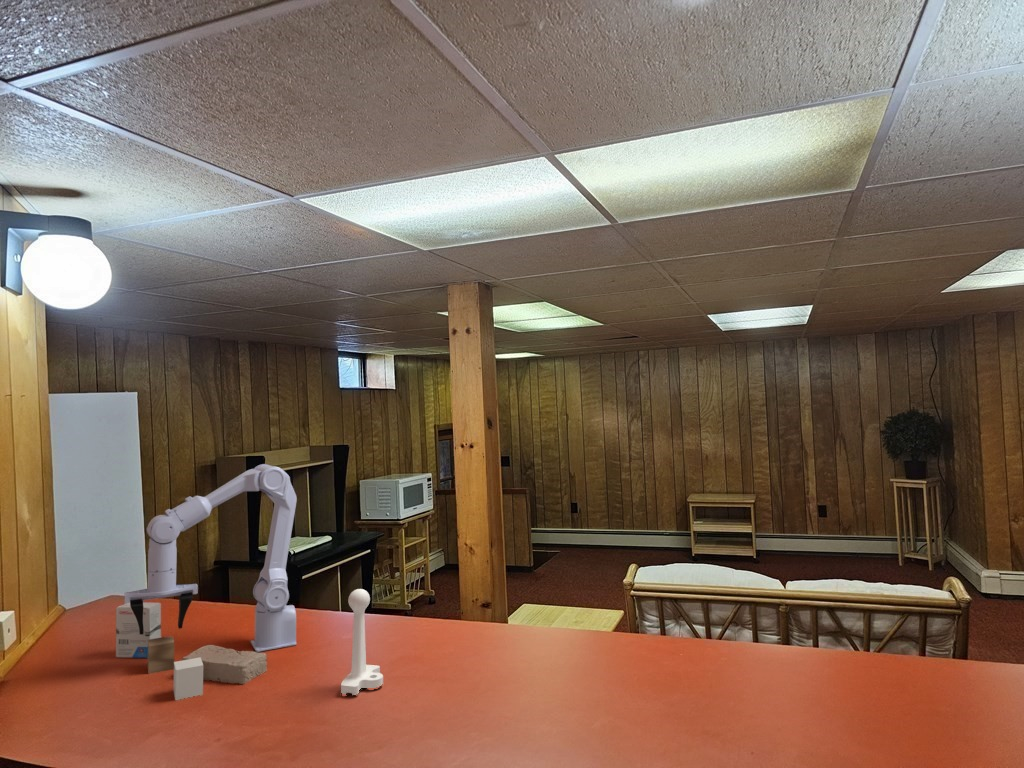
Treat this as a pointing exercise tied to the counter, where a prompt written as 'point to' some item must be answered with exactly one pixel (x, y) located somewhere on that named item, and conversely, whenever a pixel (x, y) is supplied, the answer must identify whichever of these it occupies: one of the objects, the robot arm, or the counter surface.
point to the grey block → (188, 678)
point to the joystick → (360, 650)
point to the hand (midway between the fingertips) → (161, 630)
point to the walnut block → (160, 654)
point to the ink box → (136, 630)
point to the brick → (229, 664)
